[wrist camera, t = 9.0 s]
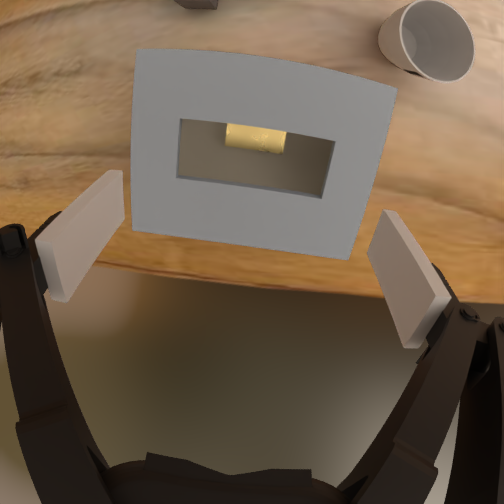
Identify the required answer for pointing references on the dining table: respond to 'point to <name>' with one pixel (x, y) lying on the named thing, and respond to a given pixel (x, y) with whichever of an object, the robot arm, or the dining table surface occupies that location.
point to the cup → (428, 41)
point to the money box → (253, 161)
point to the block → (198, 3)
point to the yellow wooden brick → (255, 138)
